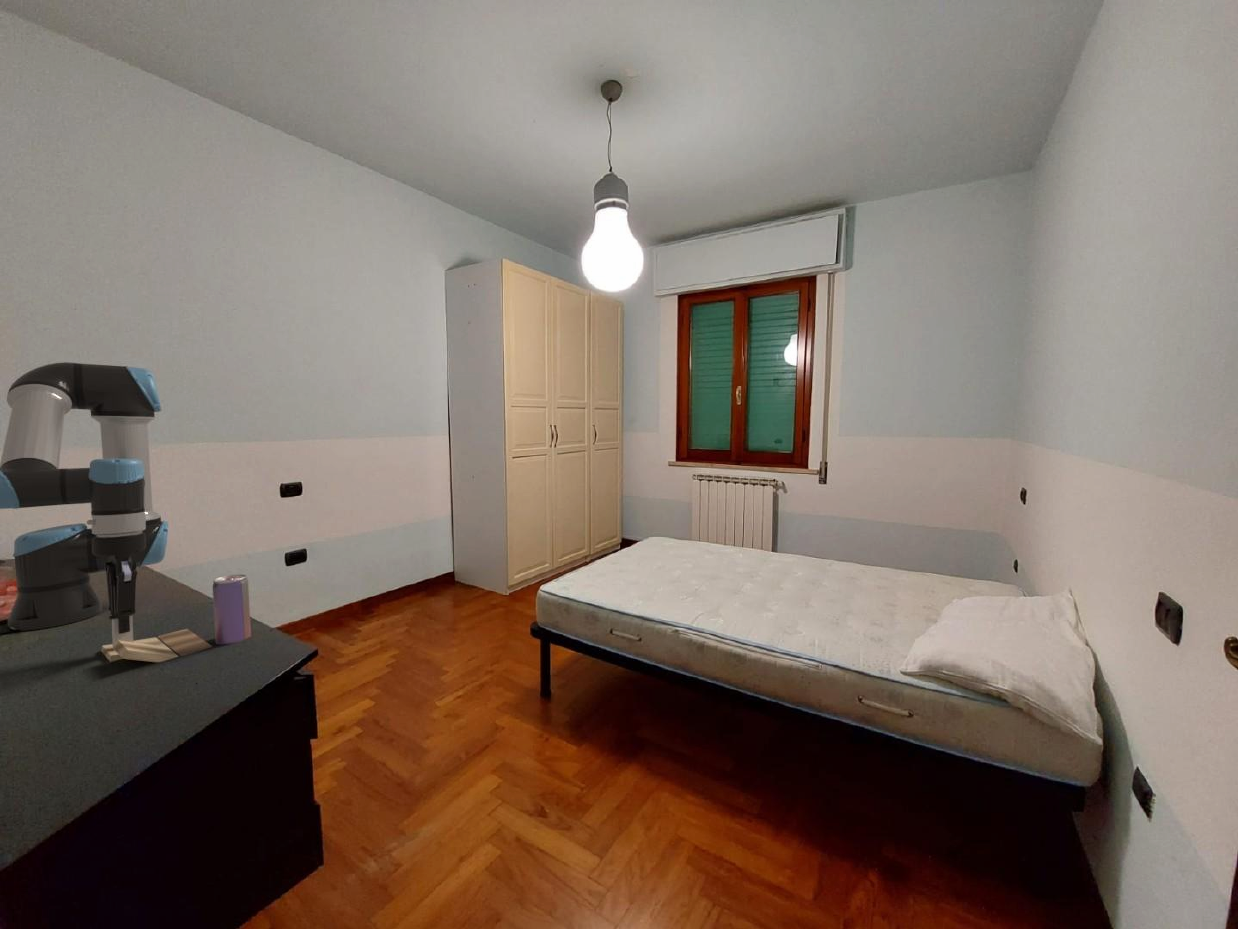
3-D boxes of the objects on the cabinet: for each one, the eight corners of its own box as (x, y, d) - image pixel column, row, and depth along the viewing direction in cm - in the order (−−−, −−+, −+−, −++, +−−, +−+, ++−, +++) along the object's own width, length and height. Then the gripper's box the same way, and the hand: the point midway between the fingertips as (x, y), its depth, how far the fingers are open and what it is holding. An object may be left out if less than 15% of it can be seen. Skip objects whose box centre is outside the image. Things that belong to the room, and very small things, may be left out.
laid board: (157, 643, 103) (157, 636, 103) (187, 634, 107) (187, 628, 107) (181, 663, 93) (180, 656, 93) (213, 653, 97) (212, 646, 97)
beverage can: (231, 652, 98) (227, 583, 97) (208, 649, 99) (204, 581, 98) (258, 640, 104) (254, 574, 103) (236, 638, 105) (233, 573, 104)
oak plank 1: (101, 653, 95) (102, 645, 96) (154, 644, 102) (155, 637, 102) (110, 663, 91) (111, 655, 91) (165, 653, 98) (166, 646, 98)
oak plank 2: (112, 648, 91) (117, 640, 92) (162, 654, 97) (166, 646, 98) (122, 658, 87) (127, 650, 87) (173, 664, 93) (178, 656, 93)
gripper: (85, 533, 95) (89, 645, 96) (98, 540, 88) (102, 662, 88) (137, 528, 101) (140, 633, 102) (153, 534, 94) (157, 648, 95)
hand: (123, 647), depth 95 cm, fingers closed
